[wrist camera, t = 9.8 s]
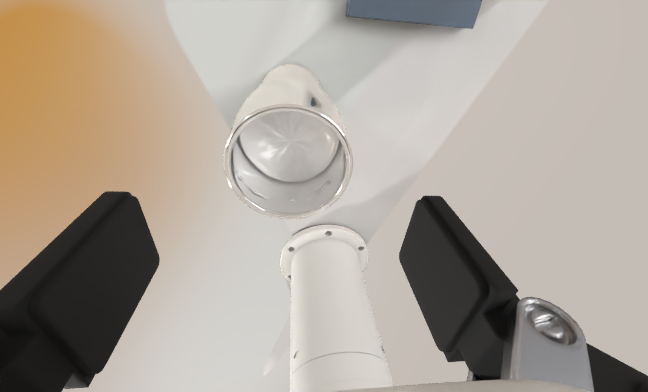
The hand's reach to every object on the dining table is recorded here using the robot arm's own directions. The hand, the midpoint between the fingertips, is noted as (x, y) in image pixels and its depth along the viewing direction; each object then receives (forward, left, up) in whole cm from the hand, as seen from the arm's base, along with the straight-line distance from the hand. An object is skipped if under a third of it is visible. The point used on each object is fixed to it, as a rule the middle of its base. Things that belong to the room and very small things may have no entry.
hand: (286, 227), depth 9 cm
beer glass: (0, 0, -20) cm, 20 cm away
